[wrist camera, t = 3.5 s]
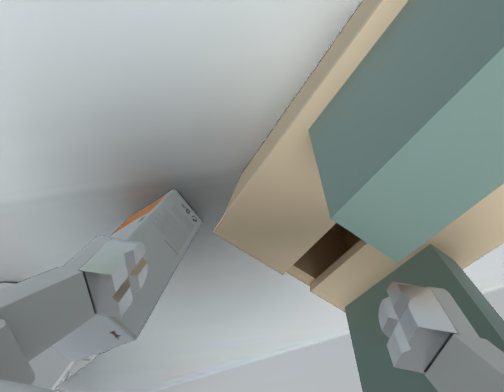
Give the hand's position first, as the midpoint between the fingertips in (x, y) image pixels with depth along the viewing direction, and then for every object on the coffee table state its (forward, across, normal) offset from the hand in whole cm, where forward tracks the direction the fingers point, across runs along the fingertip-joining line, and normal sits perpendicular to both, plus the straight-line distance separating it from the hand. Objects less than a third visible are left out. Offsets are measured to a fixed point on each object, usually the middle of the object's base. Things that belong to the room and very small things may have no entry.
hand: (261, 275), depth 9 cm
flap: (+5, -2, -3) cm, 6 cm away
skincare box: (+14, +10, +8) cm, 19 cm away
